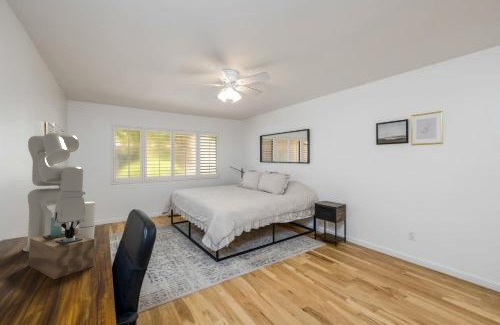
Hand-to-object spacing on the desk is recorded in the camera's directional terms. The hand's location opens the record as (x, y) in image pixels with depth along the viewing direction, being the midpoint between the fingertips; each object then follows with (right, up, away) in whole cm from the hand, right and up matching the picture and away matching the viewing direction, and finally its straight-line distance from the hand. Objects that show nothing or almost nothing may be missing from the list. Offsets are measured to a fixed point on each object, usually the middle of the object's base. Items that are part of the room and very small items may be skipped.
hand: (69, 237), depth 97 cm
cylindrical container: (-10, -14, +23) cm, 28 cm away
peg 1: (-11, -4, +6) cm, 13 cm away
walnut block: (-6, -13, +3) cm, 15 cm away
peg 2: (0, -12, 0) cm, 12 cm away
